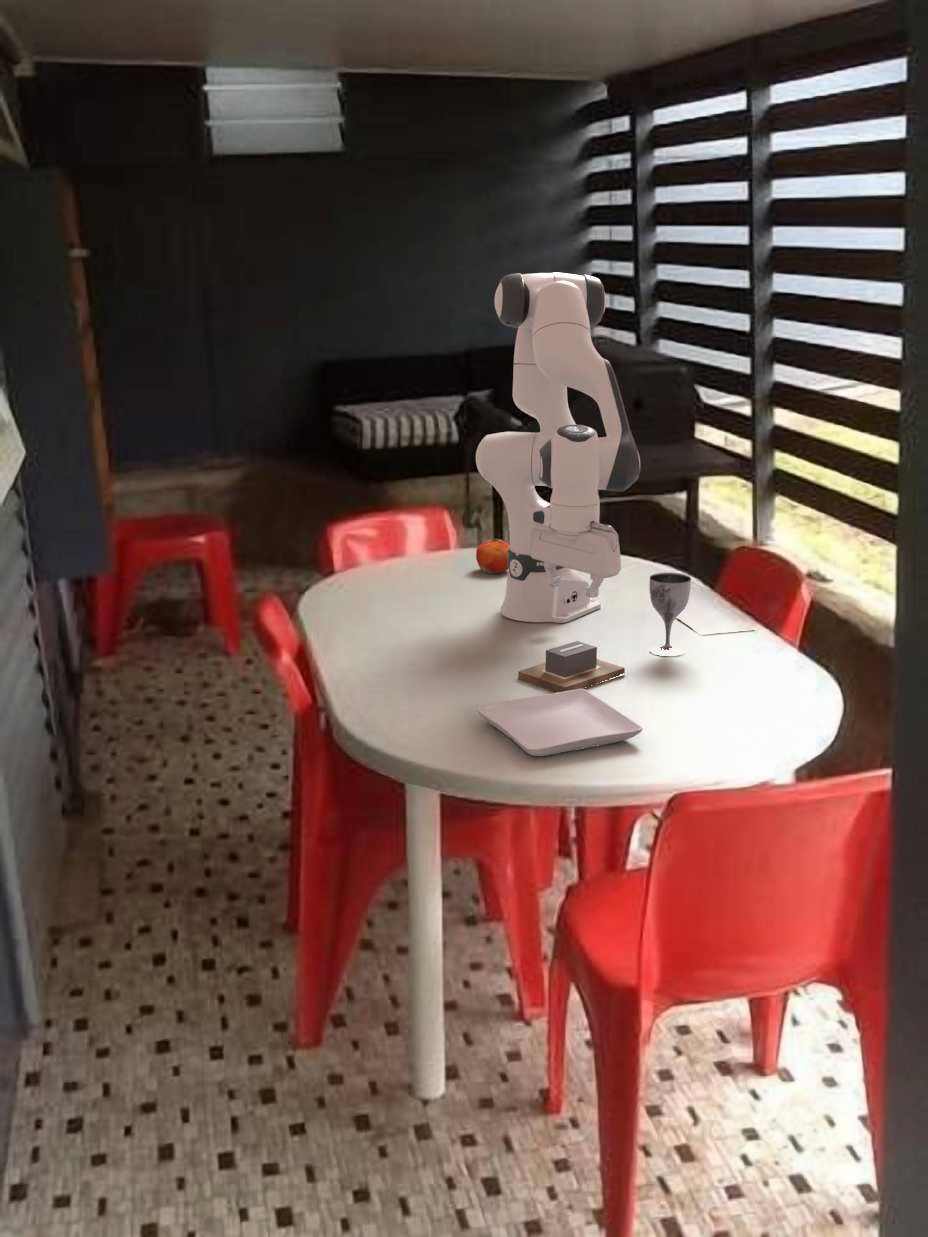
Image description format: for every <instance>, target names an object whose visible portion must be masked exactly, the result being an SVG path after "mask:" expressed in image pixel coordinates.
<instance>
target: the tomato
mask: <svg viewBox="0 0 928 1237" xmlns="http://www.w3.org/2000/svg"><path fill="white" fill-rule="evenodd" d="M509 548H510V543H508V542H506V541H504V540H502V539H499V538H492V539H488V540H485V541H483V542H482V543H480V544H479V545H478V546H477V548H476V551H475V552H476V555H475V559H476V563H477V564H478V567H479V568H480V569H481V570H482V571H483V572H485V573H489V574H500V573H503V572H506V571H508V570H509V568H508V558H507V555H508V549H509Z"/></svg>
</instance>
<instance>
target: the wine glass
mask: <svg viewBox="0 0 928 1237" xmlns="http://www.w3.org/2000/svg"><path fill="white" fill-rule="evenodd" d="M648 584H649V598H650V602H651V605H652V607H653V609H654V610H655V611H656V613H658V615H659V616H660V617H661V619H662V620H663V623H664V628H665V643H664V645H661V646H662V647H660V648H661V650H662V648H663V649H664V650H666V649H667V650H669V648H672V646H673V645H671V644H670V643H671V642H670V641H671V640H670V639H671V630H672V625H673V623H674V621H675V620H676V617H677V616H678V615H679V614H680V613H681V612H682V611H683V610H684V609H685V607H686V605H688V602H689V600H690V594H691V587H692V586H691V585H692V578H691V576H689V575H687V574H683V573H677V572H657V573H653V574H651V575H650V576H649V583H648Z"/></svg>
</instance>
